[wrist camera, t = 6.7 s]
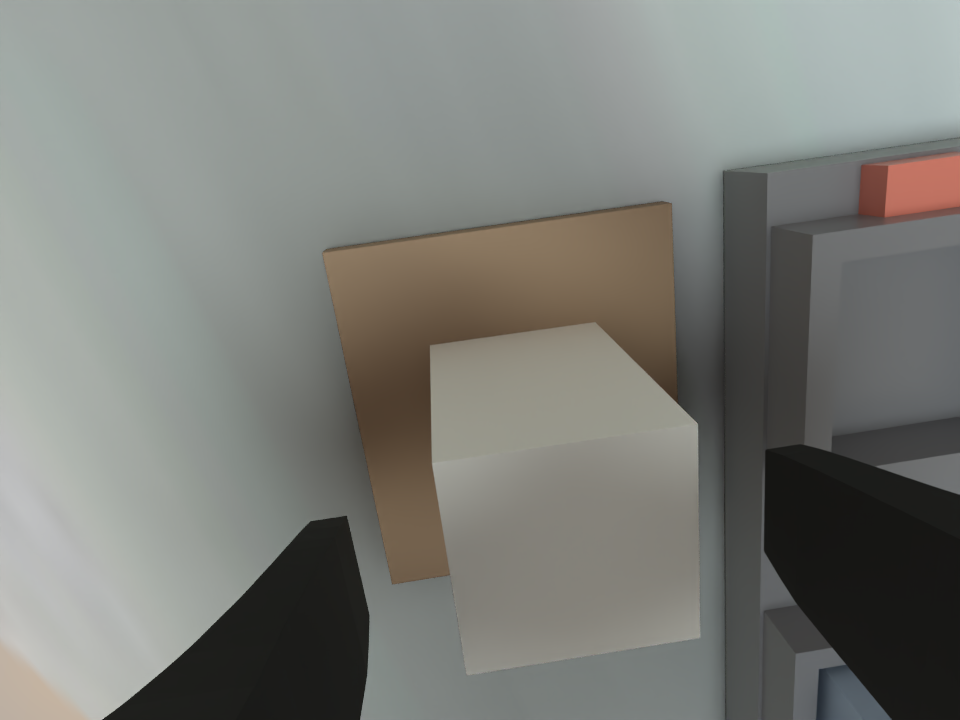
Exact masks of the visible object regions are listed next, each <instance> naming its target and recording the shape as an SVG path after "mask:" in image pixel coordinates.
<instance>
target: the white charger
mask: <svg viewBox="0 0 960 720" xmlns="http://www.w3.org/2000/svg"><path fill="white" fill-rule="evenodd" d="M430 381H431V441H432V467H433V473H434V479H435V485H436V492H437V498H438V504H439V510H440V516H441V522H442V528H443V534H444V540H445V547H446V553H447V559H448V565H449V571H450V577H451V583H452V589H453V595H454V601H455V608H456V614H457V620H458V626H459V632H460V638H461V644H462V650H463V656H464V663H465V669H466V675H467V676H468V675H474V674H480V673H486V672H492V671H499V670H505V669H511V668H517V667H523V666H530V665H536V664H542V663H548V662H555V661H561V660H567V659H573V658H579V657H586V656H592V655H598V654H604V653H610V652H617V651H623V650H629V649H635V648H641V647H648V646H654V645H660V644H666V643H672V642H679V641H685V640H691V639H697V638H700V568H699V471H698V423H697V422H696V421H695V420H693V419H692V418H691V417H690V416H689V415H688V414H687V413H686V412H685V411H684V410H683V409H682V408H681V407H680V406H679V405H678V404H677V403H676V402H675V401H674V400H673V399H672V398H671V397H670V396H669V395H668V394H667V393H666V392H665V391H664V390H663V389H662V388H661V387H660V386H659V385H658V384H657V383H656V382H655V381H654V380H653V379H652V378H651V377H650V376H649V375H648V374H647V373H646V372H645V371H644V370H643V369H642V368H641V367H640V366H639V365H638V364H637V363H636V362H635V361H634V360H633V359H632V358H631V357H630V356H629V355H628V354H627V353H626V352H625V351H624V350H623V349H622V348H621V347H620V346H619V345H618V344H617V343H616V342H615V341H614V340H613V339H612V338H611V337H610V336H609V335H608V334H607V333H606V332H605V331H604V330H603V329H602V328H601V327H600V326H599V325H598V324H597V323H596V322H592V323H585V324H578V325H571V326H564V327H557V328H550V329H542V330H535V331H528V332H521V333H514V334H507V335H500V336H493V337H485V338H478V339H471V340H464V341H457V342H450V343H443V344H435V345H430Z"/></svg>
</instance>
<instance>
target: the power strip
mask: <svg viewBox="0 0 960 720" xmlns="http://www.w3.org/2000/svg"><path fill="white" fill-rule="evenodd" d="M724 345H725V581H726V720H816V712H817V694H818V677H819V669H823V668H829V667H835V666H841V665H846V664H845V663H844V661H843V660H842V659H841V658H840V657H839V655H838V654H837V653H836V652H835V650H834V649H833V648H832V647H831V646H830V644H829V643H828V642H827V641H826V640H825V638H824V637H823V636H822V635H821V633H820V632H819V631H818V630H817V628H816V627H815V626H814V625H813V624H812V622H811V621H810V620H809V619H808V617H807V616H806V615H805V614H804V612H803V611H802V610H801V609H800V607H799V606H798V605H797V603H796V602H795V601H794V599H793V598H792V596H791V595H790V593H789V591H788V590H787V588H786V587H785V585H784V584H783V582H782V581H781V579H780V577H779V576H778V574H777V572H776V571H775V569H774V567H773V566H772V564H771V562H770V561H769V559H768V557H767V556H766V554H765V552H764V502H765V450H766V449H772V448H778V447H785V446H791V445H797V444H802V445H807V446H811V447H815V448H819V449H822V450H826V451H829V452H832V453H835V454H839V455H842V456H845V457H848V458H851V459H854V460H857V461H860V462H863V463H866V464H869V465H872V466H875V467H878V468H881V469H884V470H886V471H889V472H892V473H895V474H898V475H901V476H904V477H907V478H910V479H913V480H916V481H919V482H922V483H925V484H928V485H931V486H934V487H937V488H940V489H943V490H946V491H950V492H953V493H956V494H959V495H960V138H954V139H947V140H940V141H933V142H926V143H919V144H912V145H905V146H898V147H890V148H883V149H876V150H869V151H862V152H855V153H848V154H841V155H834V156H827V157H819V158H812V159H805V160H798V161H791V162H784V163H777V164H770V165H763V166H755V167H748V168H741V169H734V170H727V171H724Z"/></svg>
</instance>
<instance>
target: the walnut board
mask: <svg viewBox="0 0 960 720" xmlns="http://www.w3.org/2000/svg"><path fill="white" fill-rule="evenodd" d="M322 254H323V259H324V263H325V268H326V273H327V278H328V282H329V287H330V292H331V296H332V301H333V306H334V311H335V315H336V320H337V325H338V330H339V334H340V339H341V344H342V349H343V353H344V358H345V363H346V368H347V372H348V377H349V382H350V387H351V391H352V396H353V401H354V405H355V410H356V415H357V420H358V424H359V429H360V434H361V439H362V443H363V448H364V453H365V458H366V462H367V467H368V472H369V477H370V481H371V486H372V491H373V495H374V500H375V505H376V510H377V514H378V519H379V524H380V529H381V533H382V538H383V543H384V548H385V552H386V557H387V562H388V567H389V571H390V576H391V581H392V584H398V583H404V582H410V581H416V580H423V579H429V578H435V577H441V576H447V575H450V571H449V565H448V559H447V553H446V547H445V540H444V534H443V528H442V522H441V516H440V510H439V504H438V498H437V492H436V485H435V479H434V473H433V467H432V441H431V381H430V345H435V344H443V343H450V342H457V341H464V340H471V339H478V338H485V337H493V336H500V335H507V334H514V333H521V332H528V331H535V330H542V329H550V328H557V327H564V326H571V325H578V324H585V323H592V322H596V323H597V324H598V325H599V326H600V327H601V328H602V329H603V330H604V331H605V332H606V333H607V334H608V335H609V336H610V337H611V338H612V339H613V340H614V341H615V342H616V343H617V344H618V345H619V346H620V347H621V348H622V349H623V350H624V351H625V352H626V353H627V354H628V355H629V356H630V357H631V358H632V359H633V360H634V361H635V362H636V363H637V364H638V365H639V366H640V367H641V368H642V369H643V370H644V371H645V372H646V373H647V374H648V375H649V376H650V377H651V378H652V379H653V380H654V381H655V382H656V383H657V384H658V385H659V386H660V387H661V388H662V389H663V390H664V391H665V392H666V393H667V394H668V395H669V396H670V397H671V398H672V399H673V400H674V401H675V402H676V403H677V404H678V394H677V361H676V328H675V295H674V262H673V229H672V203H668V202H663V201H662V202H655V203H648V204H641V205H634V206H627V207H620V208H613V209H606V210H598V211H591V212H584V213H577V214H570V215H563V216H556V217H549V218H542V219H535V220H528V221H521V222H514V223H507V224H500V225H493V226H486V227H479V228H472V229H465V230H458V231H451V232H444V233H437V234H430V235H423V236H415V237H408V238H401V239H394V240H387V241H380V242H373V243H366V244H359V245H352V246H345V247H338V248H331V249H326V250H325V251H324V252H323V253H322Z"/></svg>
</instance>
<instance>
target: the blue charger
mask: <svg viewBox="0 0 960 720" xmlns="http://www.w3.org/2000/svg"><path fill="white" fill-rule="evenodd" d="M816 720H892V719H891V718H890V717H889V716H888V715H887V713H886V712H885V711H884V710H883V709H882V707H881V706H880V705H879V704H878V702H877V701H876V700H875V699H874V698H873V696H872V695H871V694H870V693H869V692H868V690H867V689H866V688H865V687H864V686H863V684H862V683H861V682H860V681H859V679H858V678H857V677H856V676H855V675H854V673H853V672H852V671H851V670H850V669H849V667H848V666H847V665H841V666H835V667H829V668H823V669H819V677H818V694H817V712H816Z"/></svg>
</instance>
